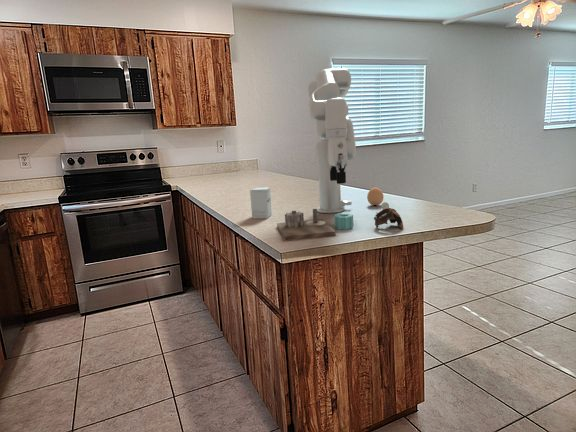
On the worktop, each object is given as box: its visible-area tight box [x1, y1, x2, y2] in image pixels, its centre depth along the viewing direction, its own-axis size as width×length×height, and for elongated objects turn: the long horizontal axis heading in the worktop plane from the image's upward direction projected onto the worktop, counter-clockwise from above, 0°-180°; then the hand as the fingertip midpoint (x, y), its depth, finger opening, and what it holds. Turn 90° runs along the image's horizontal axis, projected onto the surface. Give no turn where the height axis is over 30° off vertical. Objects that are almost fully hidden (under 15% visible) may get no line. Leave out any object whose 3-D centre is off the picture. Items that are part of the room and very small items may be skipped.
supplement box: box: [249, 186, 273, 219], centre depth 172 cm, size 7×7×13 cm
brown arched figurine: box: [373, 207, 404, 230], centre depth 144 cm, size 12×10×8 cm
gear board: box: [276, 208, 337, 242], centre depth 145 cm, size 18×20×7 cm
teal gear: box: [333, 213, 354, 230], centre depth 147 cm, size 7×7×4 cm
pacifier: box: [375, 201, 390, 218], centre depth 158 cm, size 7×6×6 cm
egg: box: [366, 186, 384, 206], centre depth 182 cm, size 7×7×8 cm
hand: (337, 181), depth 144 cm, fingers open, 9 cm apart
